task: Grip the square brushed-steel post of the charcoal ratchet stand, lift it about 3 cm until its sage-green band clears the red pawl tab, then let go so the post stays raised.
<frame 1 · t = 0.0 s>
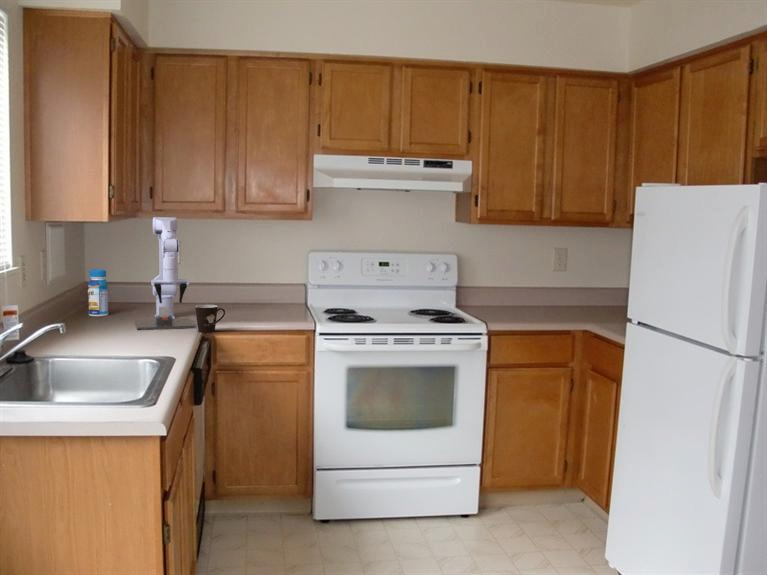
hand: (170, 302, 299), 10 cm above the countertop, tool pointing down, fingers open, 7 cm apart
stand: (164, 324, 306), on the countertop
coffee mug: (210, 331, 294), on the countertop
post: (163, 314, 306), point 4 cm above the countertop, slide at 0.0 cm
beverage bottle: (98, 315, 328), on the countertop
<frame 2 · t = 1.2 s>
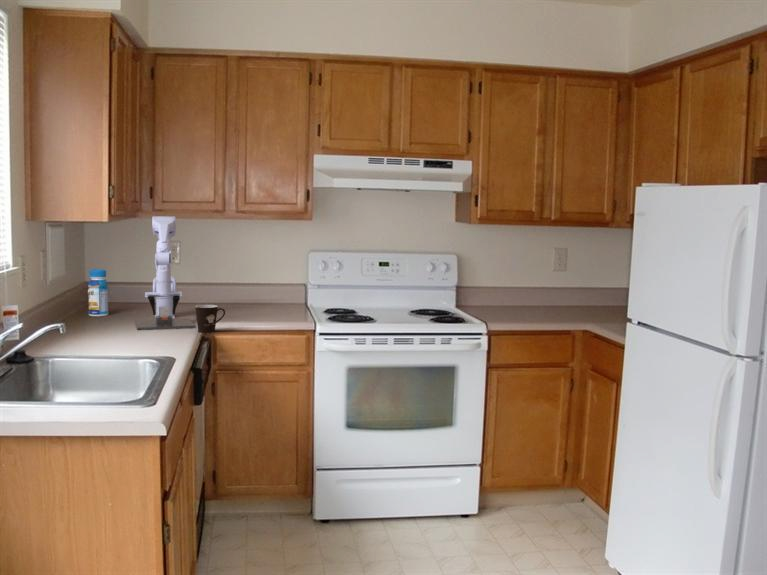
hand: (163, 314, 306), 4 cm above the countertop, tool pointing down, fingers open, 7 cm apart
nothing on the countertop moved.
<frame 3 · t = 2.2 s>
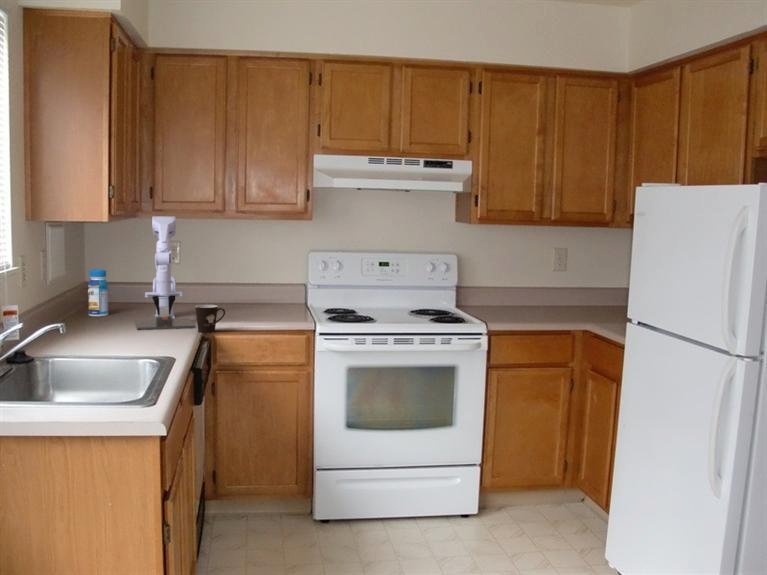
hand: (163, 314, 306), 4 cm above the countertop, tool pointing down, fingers closed on post, 4 cm apart
post: (163, 314, 306), point 4 cm above the countertop, slide at 0.0 cm, touching gripper
everything else where it was.
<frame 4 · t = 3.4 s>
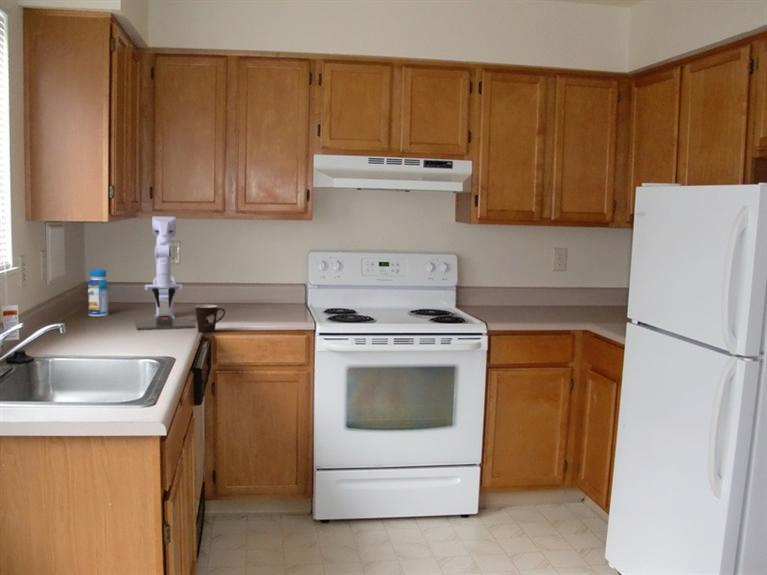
hand: (163, 307, 306), 7 cm above the countertop, tool pointing down, fingers closed on post, 4 cm apart
post: (163, 307, 306), point 7 cm above the countertop, slide at 2.8 cm, touching gripper
everything else where it was.
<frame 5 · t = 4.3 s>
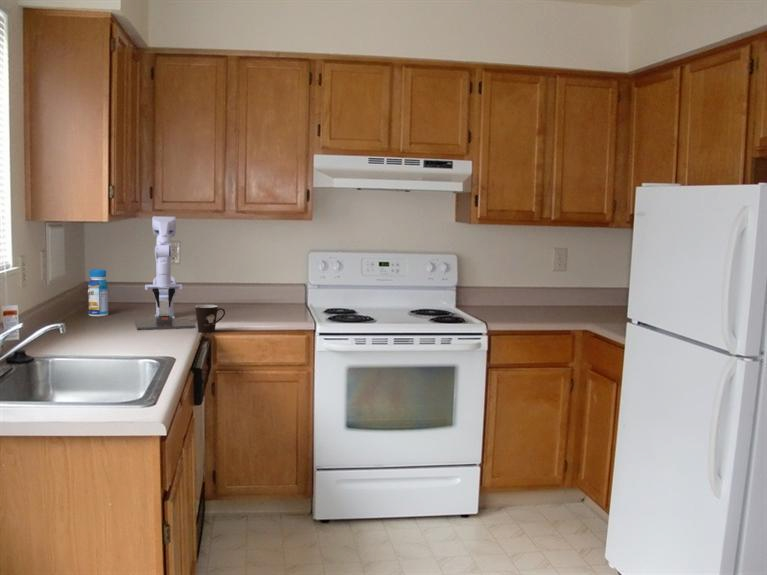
hand: (163, 307, 306), 7 cm above the countertop, tool pointing down, fingers closed on post, 3 cm apart
post: (163, 307, 306), point 7 cm above the countertop, slide at 2.8 cm, touching gripper
everything else where it was.
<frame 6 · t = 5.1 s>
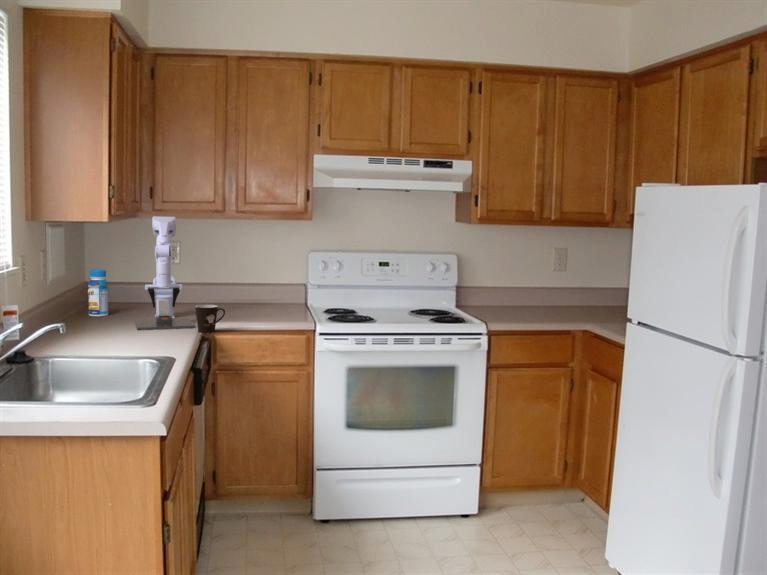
hand: (163, 307, 306), 7 cm above the countertop, tool pointing down, fingers open, 7 cm apart
post: (163, 307, 306), point 7 cm above the countertop, slide at 2.8 cm
everything else where it was.
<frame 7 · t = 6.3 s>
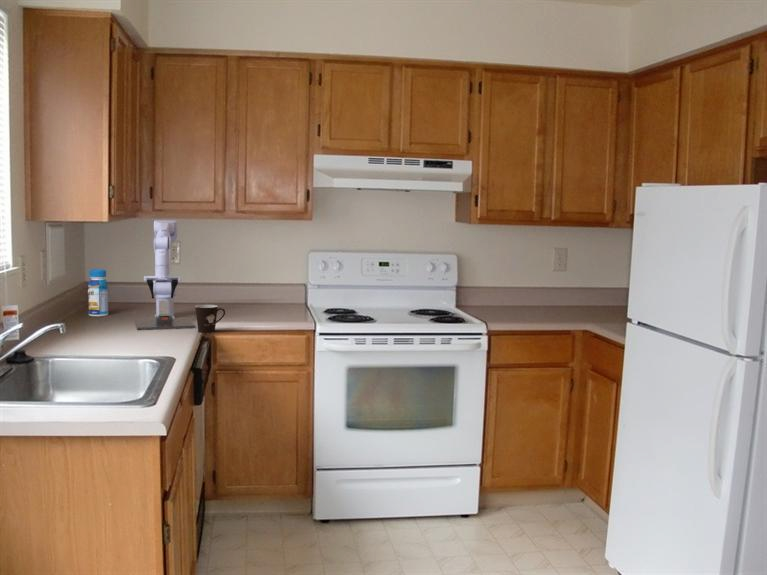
hand: (162, 298, 310), 10 cm above the countertop, tool pointing down, fingers open, 7 cm apart
nothing on the countertop moved.
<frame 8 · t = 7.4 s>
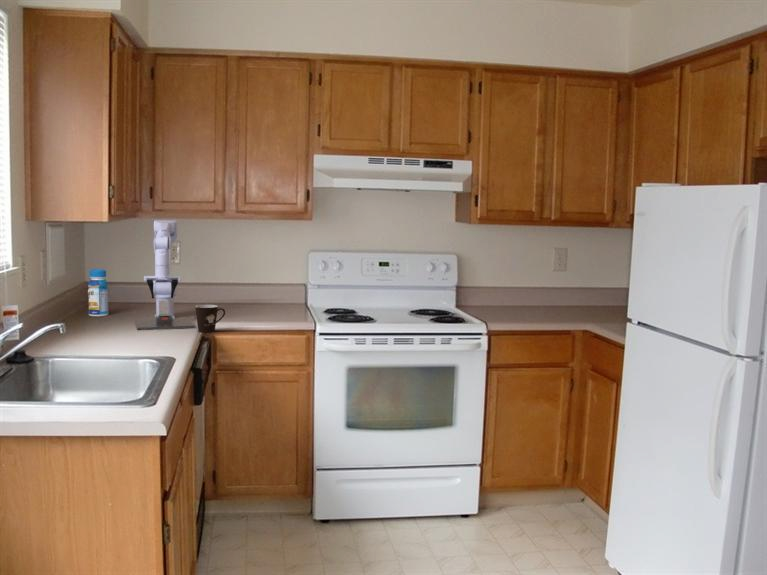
hand: (162, 298, 310), 10 cm above the countertop, tool pointing down, fingers open, 7 cm apart
nothing on the countertop moved.
at the end: post slide at 2.8 cm; the gripper is holding nothing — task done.
